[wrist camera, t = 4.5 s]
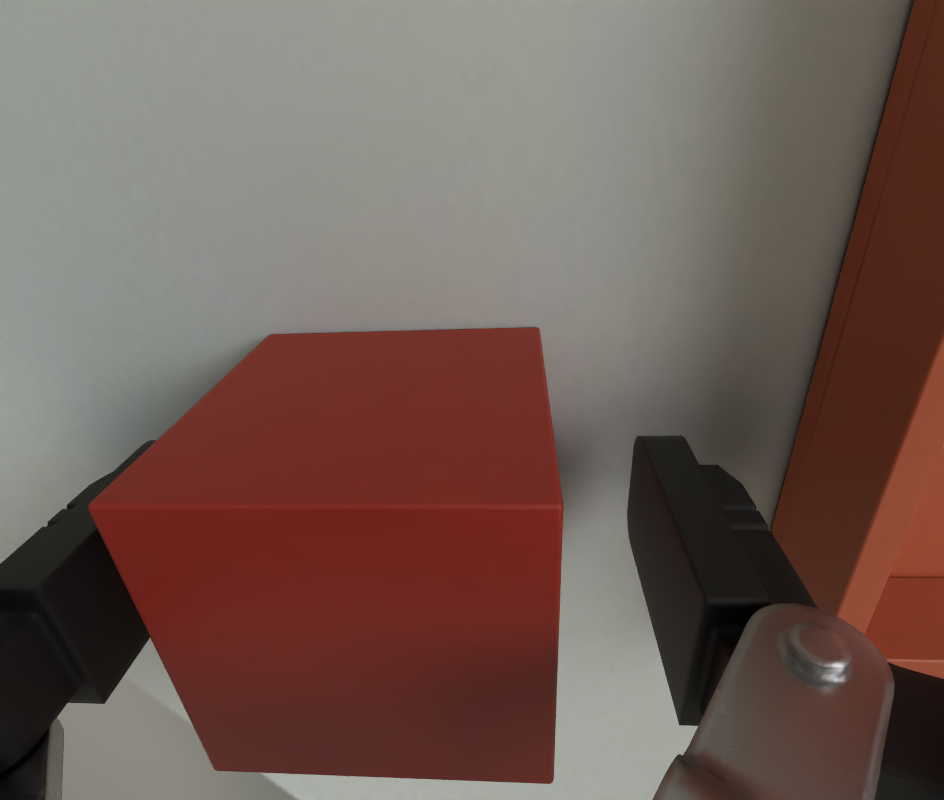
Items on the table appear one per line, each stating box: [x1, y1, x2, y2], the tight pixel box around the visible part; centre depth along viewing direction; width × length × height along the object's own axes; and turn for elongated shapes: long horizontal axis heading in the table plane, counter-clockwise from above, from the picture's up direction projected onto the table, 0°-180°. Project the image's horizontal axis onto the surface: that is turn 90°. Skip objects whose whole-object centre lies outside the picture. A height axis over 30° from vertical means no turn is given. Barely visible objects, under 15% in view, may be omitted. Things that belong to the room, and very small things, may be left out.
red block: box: [88, 327, 563, 784], centre depth 9 cm, size 5×5×5 cm
